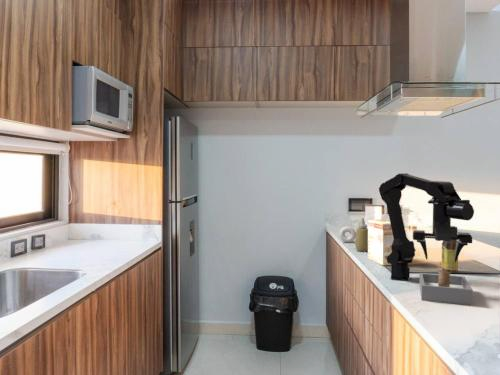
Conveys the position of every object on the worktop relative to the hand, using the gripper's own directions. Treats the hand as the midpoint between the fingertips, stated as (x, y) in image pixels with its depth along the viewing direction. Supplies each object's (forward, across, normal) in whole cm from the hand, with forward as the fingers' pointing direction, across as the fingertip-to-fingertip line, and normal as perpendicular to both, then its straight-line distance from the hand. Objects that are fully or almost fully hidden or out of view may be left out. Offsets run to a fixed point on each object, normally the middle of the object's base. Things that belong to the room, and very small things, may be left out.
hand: (440, 260), depth 138 cm
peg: (+11, +1, -4) cm, 12 cm away
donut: (+13, -45, +87) cm, 99 cm away
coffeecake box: (+12, -22, +41) cm, 48 cm away
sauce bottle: (+12, +6, +31) cm, 33 cm away
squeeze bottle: (+12, -34, +64) cm, 74 cm away
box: (+11, +1, -4) cm, 12 cm away
